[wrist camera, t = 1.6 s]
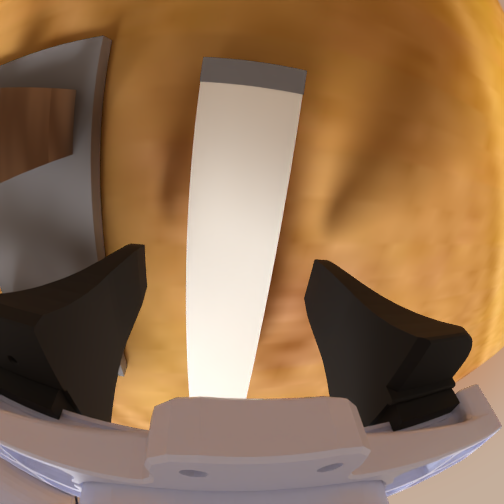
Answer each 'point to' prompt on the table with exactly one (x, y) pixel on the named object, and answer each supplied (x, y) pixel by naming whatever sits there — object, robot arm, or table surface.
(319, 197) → the table surface
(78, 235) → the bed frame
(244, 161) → the rail
